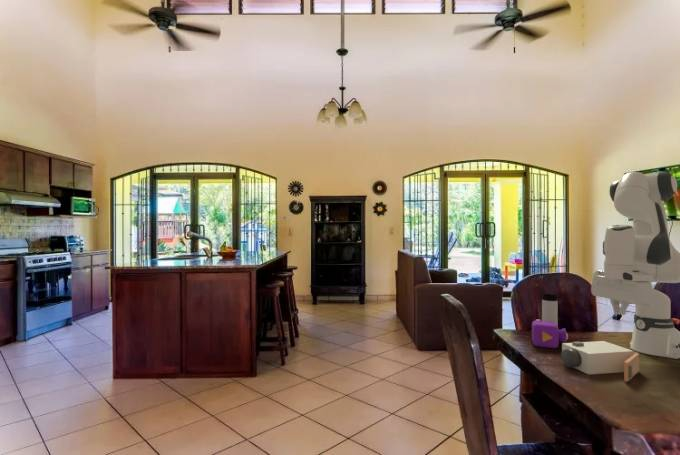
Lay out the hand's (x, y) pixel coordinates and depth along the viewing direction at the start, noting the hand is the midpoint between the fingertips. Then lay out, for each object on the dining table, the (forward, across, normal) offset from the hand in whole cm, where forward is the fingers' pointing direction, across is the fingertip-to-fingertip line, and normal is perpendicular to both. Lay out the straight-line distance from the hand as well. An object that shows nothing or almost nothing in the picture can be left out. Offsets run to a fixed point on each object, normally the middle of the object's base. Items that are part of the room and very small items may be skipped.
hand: (619, 313), depth 129 cm
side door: (+20, +2, +3) cm, 20 cm away
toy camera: (+21, -33, 0) cm, 39 cm away
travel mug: (+21, -45, +10) cm, 51 cm away
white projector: (+21, -8, -2) cm, 22 cm away
